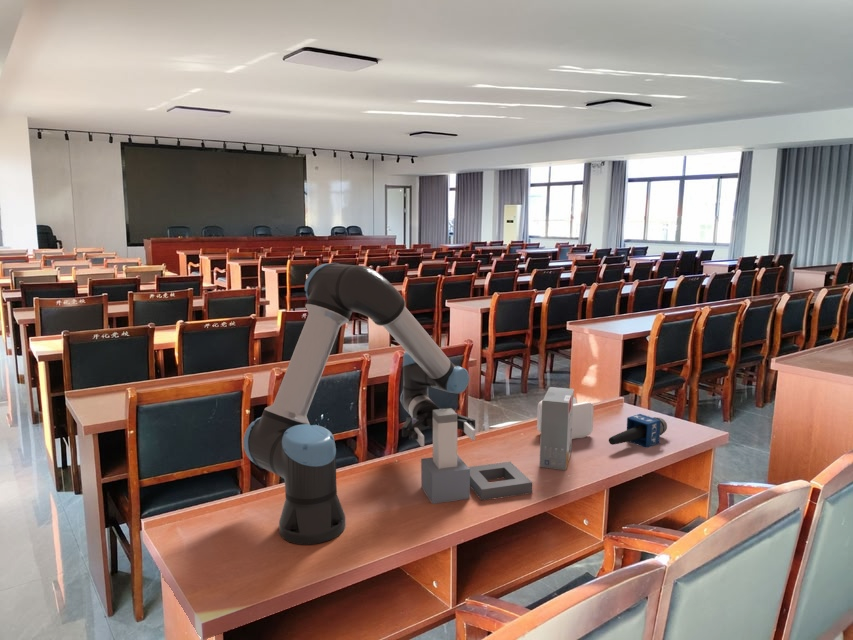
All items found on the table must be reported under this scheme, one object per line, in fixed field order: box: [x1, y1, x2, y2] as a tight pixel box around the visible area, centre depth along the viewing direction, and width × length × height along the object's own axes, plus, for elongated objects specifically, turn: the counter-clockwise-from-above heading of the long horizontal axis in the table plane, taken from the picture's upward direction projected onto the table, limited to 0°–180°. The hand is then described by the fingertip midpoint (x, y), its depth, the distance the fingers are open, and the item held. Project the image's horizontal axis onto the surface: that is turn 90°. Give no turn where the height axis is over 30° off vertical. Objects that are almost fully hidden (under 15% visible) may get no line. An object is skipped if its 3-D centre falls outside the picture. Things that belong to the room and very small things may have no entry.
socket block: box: [468, 461, 533, 501], centre depth 163 cm, size 14×14×3 cm
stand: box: [420, 454, 471, 505], centre depth 159 cm, size 10×10×8 cm
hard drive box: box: [538, 386, 575, 471], centre depth 179 cm, size 16×8×20 cm, turn 161°
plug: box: [432, 407, 458, 469], centre depth 157 cm, size 5×5×14 cm
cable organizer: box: [536, 396, 594, 440], centre depth 199 cm, size 15×11×12 cm
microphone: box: [608, 413, 668, 449], centre depth 191 cm, size 8×8×25 cm
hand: (448, 438), depth 154 cm, fingers open, 13 cm apart
